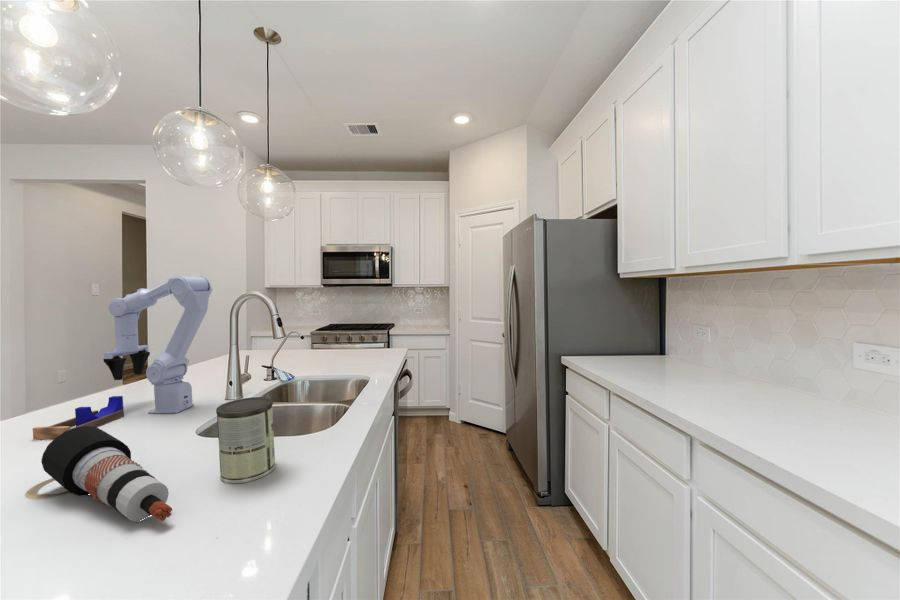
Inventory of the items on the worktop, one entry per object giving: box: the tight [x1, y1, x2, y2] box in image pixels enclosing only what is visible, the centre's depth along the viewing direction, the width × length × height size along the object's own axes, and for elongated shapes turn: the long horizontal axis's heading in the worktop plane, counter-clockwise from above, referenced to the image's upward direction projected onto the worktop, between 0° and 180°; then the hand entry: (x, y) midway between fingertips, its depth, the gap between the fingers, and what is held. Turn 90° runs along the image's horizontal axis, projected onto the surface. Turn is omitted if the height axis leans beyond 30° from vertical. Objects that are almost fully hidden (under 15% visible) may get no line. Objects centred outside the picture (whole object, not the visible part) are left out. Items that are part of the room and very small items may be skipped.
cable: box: [41, 426, 173, 523], centre depth 69 cm, size 10×34×10 cm, turn 61°
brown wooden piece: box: [32, 410, 125, 441], centre depth 109 cm, size 9×17×3 cm, turn 178°
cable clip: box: [74, 395, 124, 427], centre depth 113 cm, size 12×4×6 cm, turn 179°
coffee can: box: [215, 396, 277, 485], centre depth 79 cm, size 10×10×14 cm
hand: (128, 376), depth 125 cm, fingers open, 7 cm apart
